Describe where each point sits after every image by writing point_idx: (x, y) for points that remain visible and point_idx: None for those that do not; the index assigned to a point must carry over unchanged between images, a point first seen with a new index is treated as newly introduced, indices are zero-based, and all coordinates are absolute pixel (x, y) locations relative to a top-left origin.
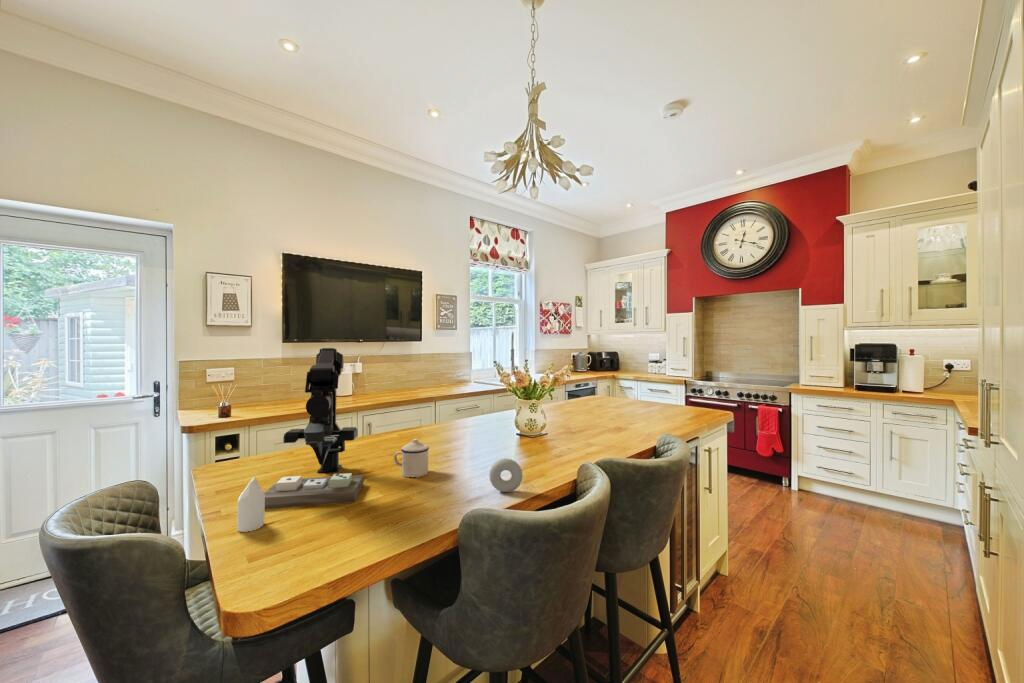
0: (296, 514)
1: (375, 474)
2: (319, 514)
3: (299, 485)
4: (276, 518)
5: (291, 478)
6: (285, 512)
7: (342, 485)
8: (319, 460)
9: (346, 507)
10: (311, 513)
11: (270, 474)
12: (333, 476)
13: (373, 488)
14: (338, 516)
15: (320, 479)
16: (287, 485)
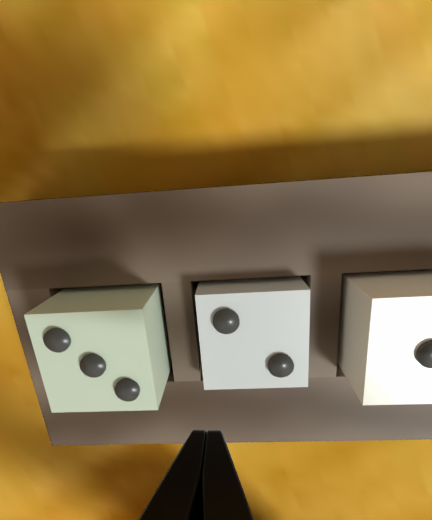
0: (261, 72)
1: (74, 500)
2: (139, 58)
3: (343, 344)
4: (352, 23)
5: (417, 368)
6: (328, 107)
7: (82, 295)
8: (218, 469)
9: (38, 142)
10: (186, 78)
11: None
12: (143, 370)
13: (14, 358)
14: (26, 18)
15: (236, 379)
16: (412, 286)
